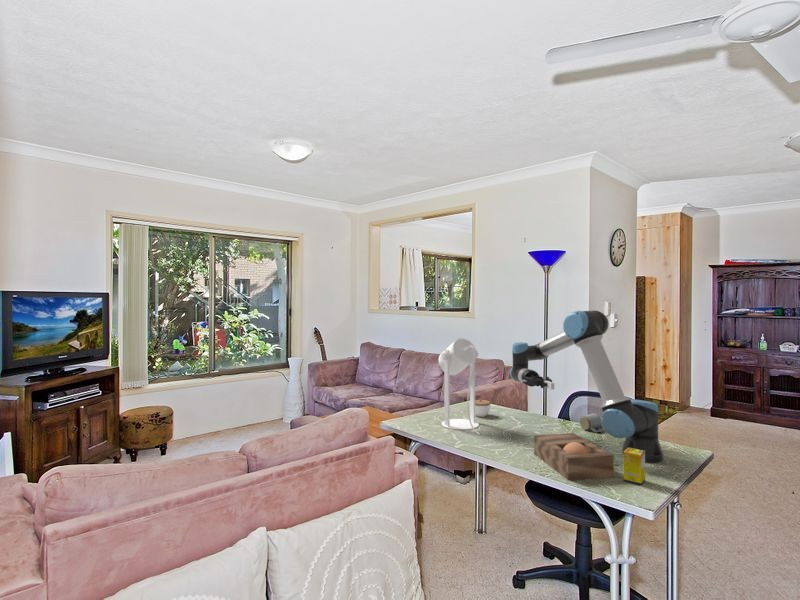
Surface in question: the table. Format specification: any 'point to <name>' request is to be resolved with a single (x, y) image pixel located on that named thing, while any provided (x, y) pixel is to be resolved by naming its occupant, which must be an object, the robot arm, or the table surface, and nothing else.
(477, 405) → the lidded jar
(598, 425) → the ceramic mug
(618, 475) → the table surface
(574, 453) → the ball
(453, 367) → the desk lamp
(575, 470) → the walnut stand
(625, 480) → the supplement box
